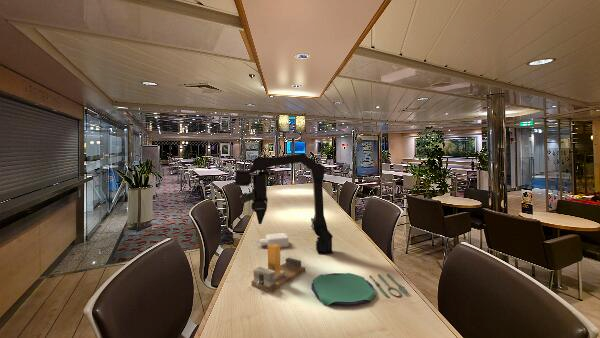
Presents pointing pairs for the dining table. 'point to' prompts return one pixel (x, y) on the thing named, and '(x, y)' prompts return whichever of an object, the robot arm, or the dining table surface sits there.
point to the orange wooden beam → (274, 262)
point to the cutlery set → (348, 288)
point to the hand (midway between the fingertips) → (260, 221)
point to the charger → (275, 240)
